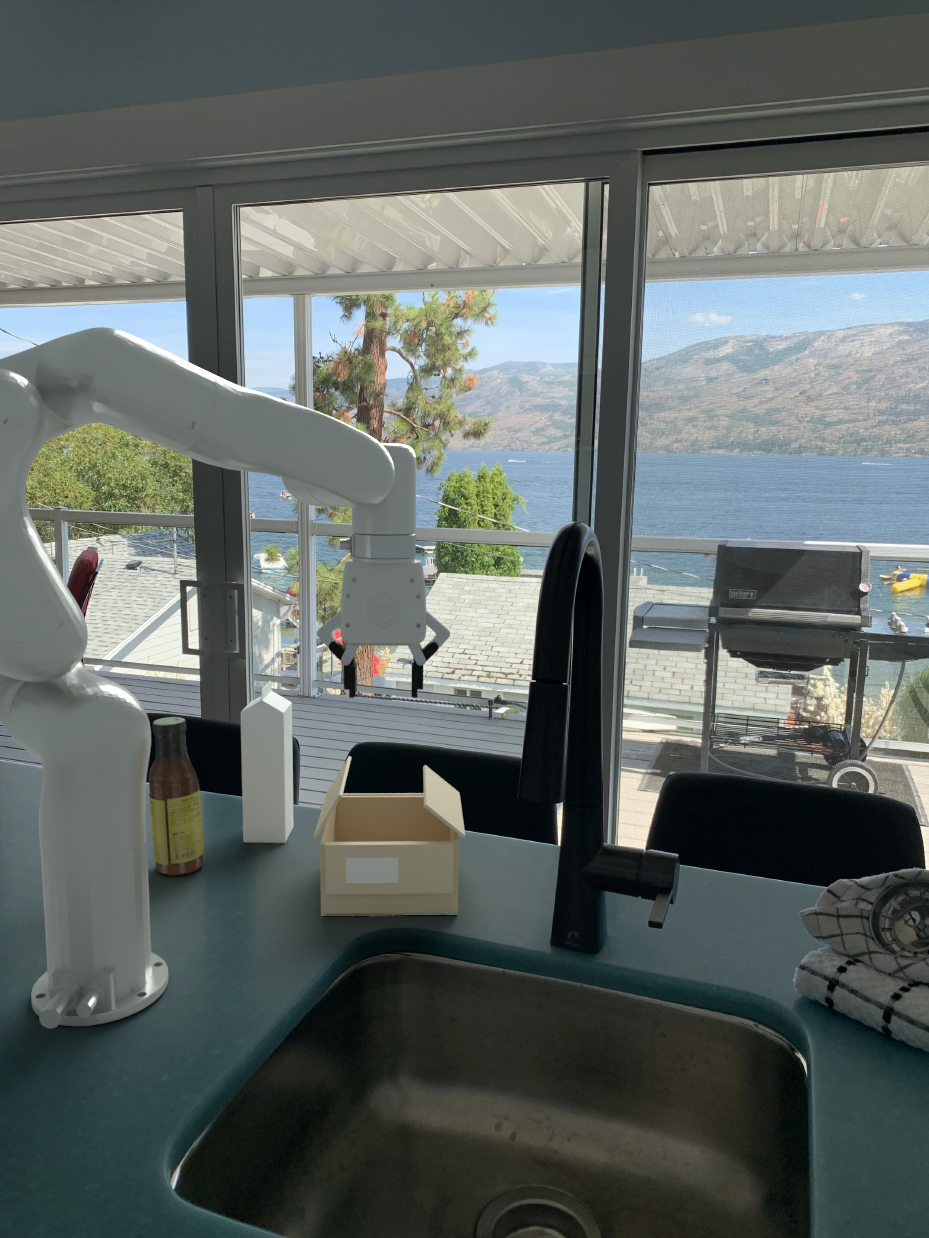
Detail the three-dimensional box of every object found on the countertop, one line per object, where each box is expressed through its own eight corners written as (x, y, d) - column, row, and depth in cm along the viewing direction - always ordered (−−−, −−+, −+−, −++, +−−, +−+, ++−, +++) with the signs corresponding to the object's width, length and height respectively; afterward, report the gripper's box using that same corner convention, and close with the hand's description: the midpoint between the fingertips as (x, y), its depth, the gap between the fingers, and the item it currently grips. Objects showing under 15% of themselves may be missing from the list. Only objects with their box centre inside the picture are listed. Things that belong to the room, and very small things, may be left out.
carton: (458, 918, 106) (459, 844, 104) (320, 920, 105) (319, 845, 104) (452, 857, 123) (453, 793, 122) (333, 858, 122) (333, 793, 121)
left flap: (328, 795, 119) (326, 793, 119) (351, 757, 119) (348, 755, 119) (316, 839, 105) (313, 837, 105) (342, 795, 104) (339, 794, 104)
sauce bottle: (211, 859, 121) (207, 714, 118) (193, 879, 115) (188, 727, 112) (164, 856, 122) (159, 712, 119) (143, 876, 116) (137, 725, 113)
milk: (243, 843, 127) (238, 689, 123) (253, 826, 133) (249, 679, 129) (286, 843, 127) (282, 690, 123) (294, 827, 133) (291, 680, 129)
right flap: (463, 838, 106) (465, 835, 106) (423, 806, 105) (426, 804, 105) (457, 794, 120) (459, 792, 120) (423, 766, 120) (425, 764, 120)
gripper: (306, 550, 103) (308, 702, 106) (458, 552, 104) (456, 703, 107) (313, 545, 111) (315, 688, 114) (455, 547, 112) (453, 688, 114)
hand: (383, 694), depth 110 cm, fingers open, 6 cm apart
